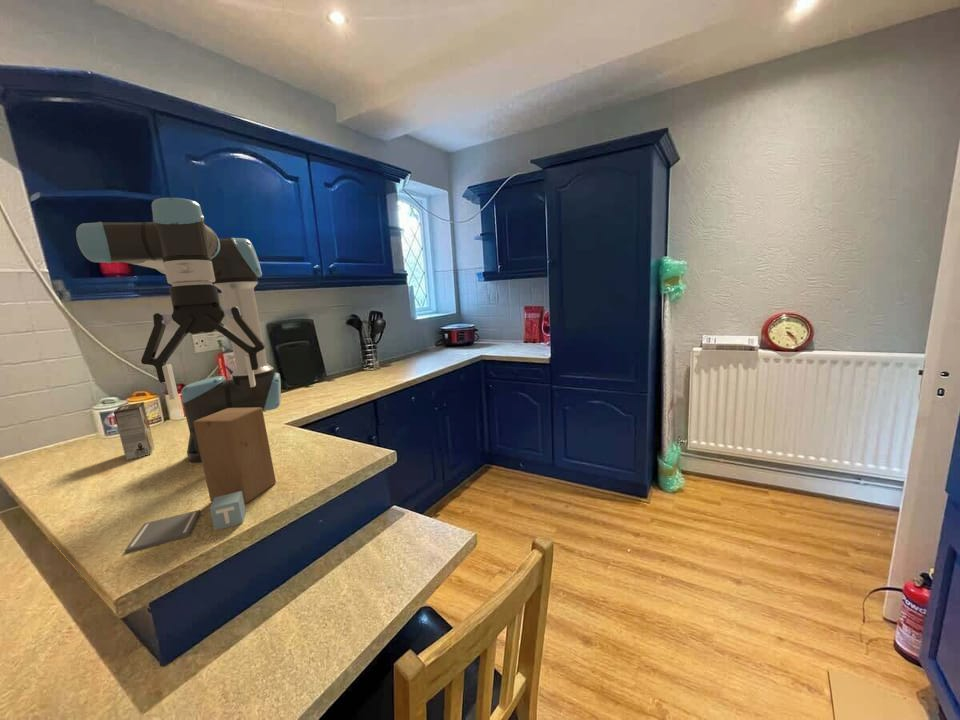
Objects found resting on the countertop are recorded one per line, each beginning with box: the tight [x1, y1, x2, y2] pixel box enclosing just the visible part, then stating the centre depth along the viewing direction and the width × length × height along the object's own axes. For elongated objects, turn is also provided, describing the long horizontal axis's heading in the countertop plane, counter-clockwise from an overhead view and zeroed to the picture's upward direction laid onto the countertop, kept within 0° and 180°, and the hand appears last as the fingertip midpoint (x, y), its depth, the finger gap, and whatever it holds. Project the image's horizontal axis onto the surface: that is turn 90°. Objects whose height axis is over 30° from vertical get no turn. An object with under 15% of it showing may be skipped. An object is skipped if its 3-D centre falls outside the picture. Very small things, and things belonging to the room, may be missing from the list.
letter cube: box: [209, 491, 247, 531], centre depth 82 cm, size 5×5×5 cm
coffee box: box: [113, 401, 155, 461], centre depth 127 cm, size 9×6×16 cm
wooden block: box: [193, 407, 277, 504], centre depth 93 cm, size 10×10×20 cm
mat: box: [124, 509, 202, 554], centre depth 81 cm, size 10×10×1 cm
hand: (215, 391), depth 79 cm, fingers open, 13 cm apart
